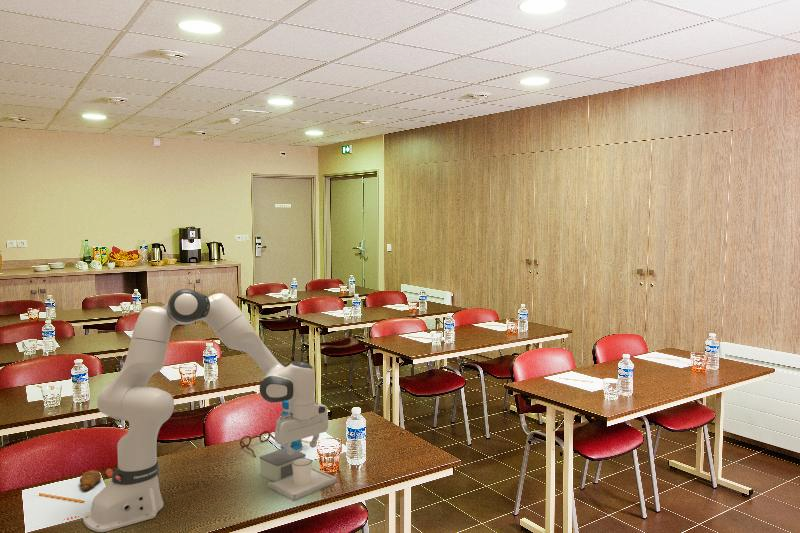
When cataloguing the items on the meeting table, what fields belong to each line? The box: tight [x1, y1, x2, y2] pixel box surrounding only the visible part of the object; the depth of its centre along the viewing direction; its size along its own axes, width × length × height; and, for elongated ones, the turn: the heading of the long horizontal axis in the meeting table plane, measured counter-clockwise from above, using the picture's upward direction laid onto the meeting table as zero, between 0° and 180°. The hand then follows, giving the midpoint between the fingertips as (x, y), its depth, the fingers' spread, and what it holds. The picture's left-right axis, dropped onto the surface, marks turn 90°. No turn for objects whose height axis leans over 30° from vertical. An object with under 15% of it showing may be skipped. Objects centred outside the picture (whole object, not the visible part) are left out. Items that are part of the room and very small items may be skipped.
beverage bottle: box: [280, 400, 303, 452], centre depth 233 cm, size 8×8×20 cm
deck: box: [258, 448, 337, 501], centre depth 206 cm, size 18×25×7 cm
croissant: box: [79, 469, 102, 493], centre depth 203 cm, size 14×7×5 cm, turn 14°
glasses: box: [239, 430, 275, 459], centre depth 234 cm, size 13×13×5 cm
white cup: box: [292, 457, 313, 485], centre depth 202 cm, size 7×7×7 cm
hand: (302, 450), depth 200 cm, fingers open, 8 cm apart
